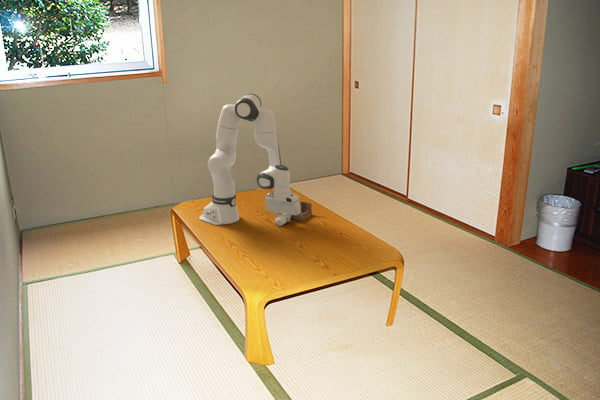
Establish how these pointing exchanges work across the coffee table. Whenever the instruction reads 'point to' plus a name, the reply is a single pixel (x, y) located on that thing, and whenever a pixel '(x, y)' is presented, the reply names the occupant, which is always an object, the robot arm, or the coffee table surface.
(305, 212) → the walnut cradle
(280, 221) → the paper roll
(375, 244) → the coffee table surface
